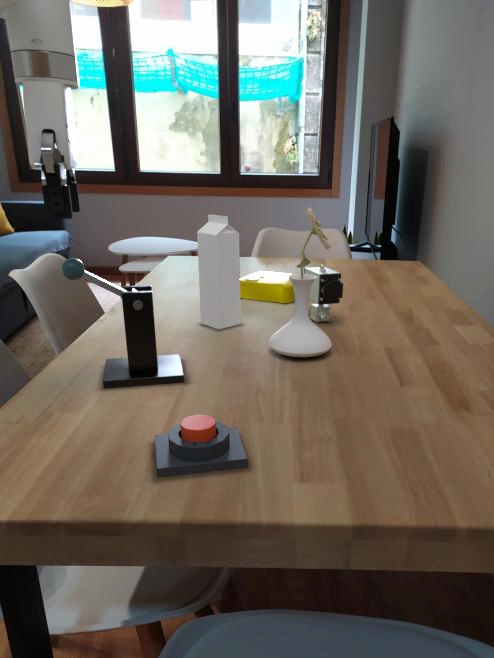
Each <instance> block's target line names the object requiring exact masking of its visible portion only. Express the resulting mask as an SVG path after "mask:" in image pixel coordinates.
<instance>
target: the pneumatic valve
mask: <svg viewBox="0 0 494 658" xmlns="http://www.w3.org/2000/svg"><path fill="white" fill-rule="evenodd" d="M303 274H310V275H315V276H316V277H317V278H316V280H315V281H314V282H313V284H312V286H311V289H310V292H309V298H308V300H311V302H312V303H311V304H310V305H309V306H310V315H309V319H310V320H311V321H313V322H314V323H317V324H318V323H319V322H330V321H331V318H330V317H331V313H330V311H331V309H332V308H331V306H330V305H333V304H334V305H336V304H340V303H341V301H340V300H341V299H343V294H344V283H343V282H342V273H340V272H339V271H338V270H335V269H331V268H328V267H326V266H325V264H320V265H319V266H317V265H316V266H305V267H303ZM313 302H314V303H313Z"/></svg>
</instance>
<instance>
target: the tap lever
mask: <svg viewBox="0 0 494 658" xmlns="http://www.w3.org/2000/svg"><path fill="white" fill-rule="evenodd" d="M61 273H62V275H63V277H64V278H66V279H67V280H68V281H69V280H70V281H79V280H80V279H84V280H85V281H87V282H90V283H92V284H94V285H96V286H98V287H100V288H102V289H104V290H106V291H108V292H111V293H112V294H114V295H116V296H119V297H121V298H122V295H121V293H122V292H128V291H126V290H124V289H122V287H120V286H118V285H116V284H114V283H111V282H109V281H108V280H106V279H103V278H102V277H99V276H98V275H96V274H94V273H92V272H89V271H87V270H86V267H85V264H84V263H83V262H82V260H80V259H78V258H75V257H69V258H67V259H65V260H64V261H63V262H62V264H61ZM131 291H138V290H136V289H134V288H133V289H132V290H131Z"/></svg>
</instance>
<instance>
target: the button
mask: <svg viewBox="0 0 494 658" xmlns="http://www.w3.org/2000/svg"><path fill="white" fill-rule="evenodd" d="M216 421H217V420H216V418H214V417H213V416H210V415H208V414H192V415H189V416H186V417H184V418H182V419H181V421H180V423H181V438H182V439H183V440H185V441H189V442H195V443H196V442H206V441H209V440H211V439H214V438H215V437H216Z"/></svg>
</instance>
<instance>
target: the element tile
mask: <svg viewBox="0 0 494 658" xmlns="http://www.w3.org/2000/svg"><path fill="white" fill-rule="evenodd" d="M291 274H292V273H285V272H276V271H275V272H274V271H265V270H264V271H263V270H259V271H257V272H254V273H251V274H248V275H247V276H244V277H241V278H240V299H242V300H243V299H245V300H251V301H252V300H254V301H261V302H268V303H269V302H270V303H278V304H291V303H295V293H294V288H293V285H292V283H291V281H290V279H289V278H288V276H289V275H291Z"/></svg>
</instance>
